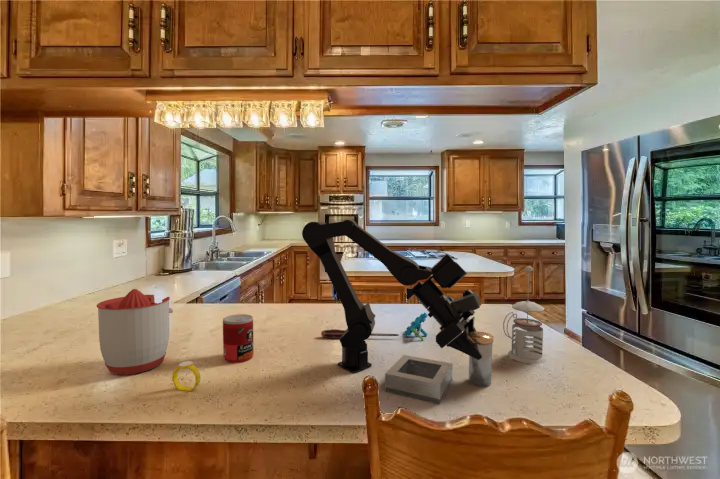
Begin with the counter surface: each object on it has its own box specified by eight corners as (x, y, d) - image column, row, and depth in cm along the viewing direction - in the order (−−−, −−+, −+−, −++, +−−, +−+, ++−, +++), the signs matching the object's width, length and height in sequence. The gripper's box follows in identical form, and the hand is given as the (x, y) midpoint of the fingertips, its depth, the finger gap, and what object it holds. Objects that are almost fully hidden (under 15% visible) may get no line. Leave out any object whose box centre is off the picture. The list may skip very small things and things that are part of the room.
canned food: (241, 365, 91) (240, 323, 91) (216, 360, 94) (215, 320, 93) (259, 354, 98) (259, 315, 98) (236, 350, 101) (235, 312, 101)
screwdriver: (398, 338, 113) (398, 328, 113) (399, 341, 110) (399, 331, 110) (321, 336, 114) (321, 327, 114) (320, 339, 111) (320, 330, 111)
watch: (170, 392, 77) (168, 366, 77) (179, 387, 80) (176, 361, 80) (195, 393, 76) (193, 365, 76) (203, 387, 79) (201, 360, 79)
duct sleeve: (463, 381, 82) (464, 334, 82) (475, 374, 86) (476, 330, 85) (484, 389, 78) (485, 340, 78) (496, 382, 82) (497, 335, 81)
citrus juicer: (190, 358, 96) (188, 284, 95) (125, 385, 80) (122, 297, 79) (151, 349, 102) (149, 280, 101) (84, 372, 86) (81, 291, 85)
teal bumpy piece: (405, 324, 121) (426, 306, 118) (417, 337, 121) (439, 319, 117) (399, 339, 111) (422, 320, 107) (412, 353, 110) (436, 334, 107)
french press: (555, 362, 93) (558, 268, 92) (514, 365, 92) (517, 269, 90) (531, 349, 103) (533, 263, 102) (494, 351, 101) (496, 264, 100)
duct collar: (385, 391, 77) (385, 373, 77) (403, 370, 88) (403, 354, 88) (439, 404, 72) (440, 384, 72) (452, 380, 83) (452, 363, 83)
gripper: (451, 287, 75) (506, 346, 70) (466, 274, 91) (512, 322, 87) (415, 319, 79) (465, 377, 74) (436, 301, 95) (478, 348, 91)
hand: (482, 354), depth 81 cm, fingers open, 6 cm apart
